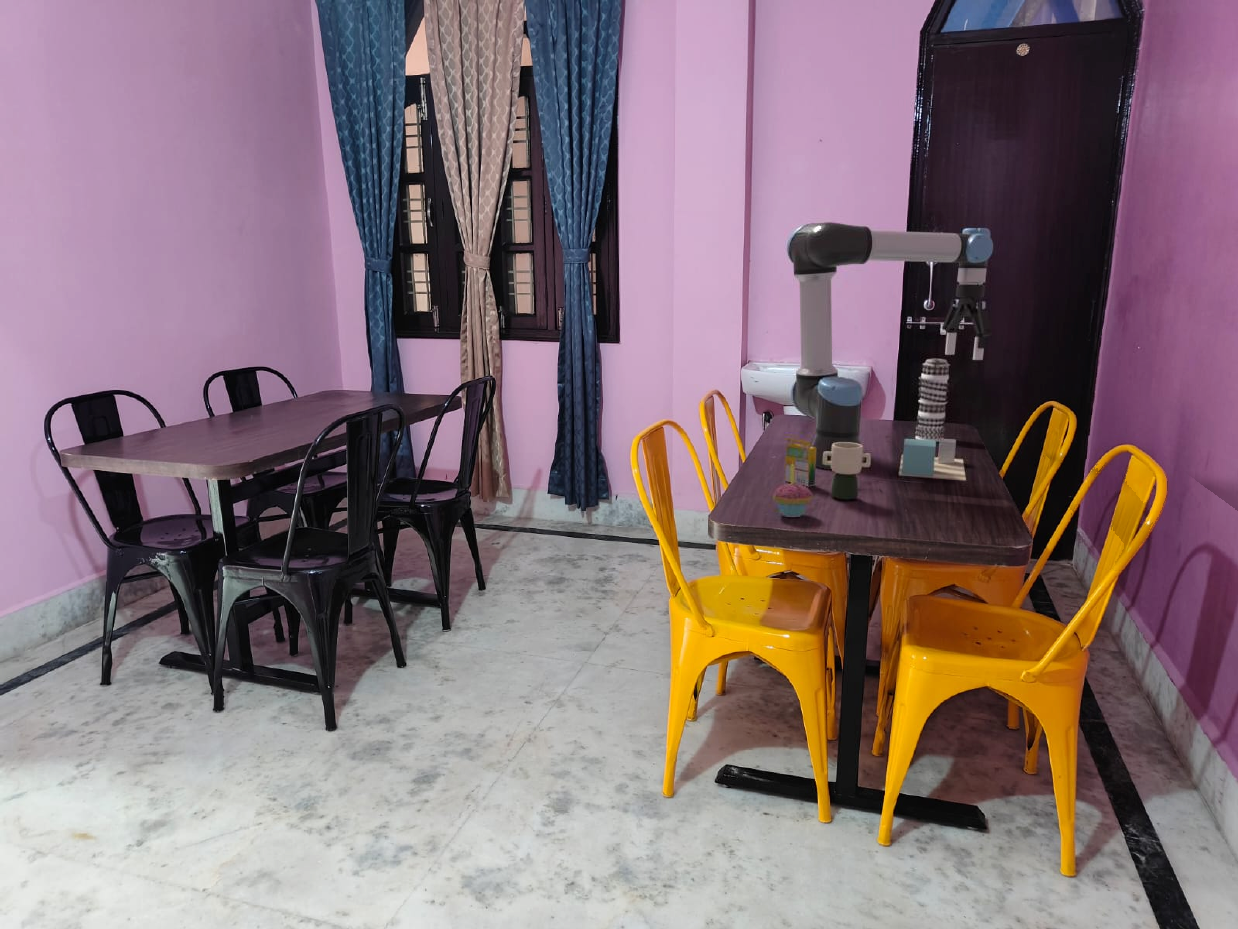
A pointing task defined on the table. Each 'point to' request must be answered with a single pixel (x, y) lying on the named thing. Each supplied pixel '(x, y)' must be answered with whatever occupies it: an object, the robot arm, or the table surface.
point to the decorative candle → (932, 400)
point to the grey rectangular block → (946, 451)
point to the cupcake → (792, 497)
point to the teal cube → (918, 457)
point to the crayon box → (800, 462)
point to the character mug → (846, 468)
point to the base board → (944, 470)
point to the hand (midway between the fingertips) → (963, 357)
